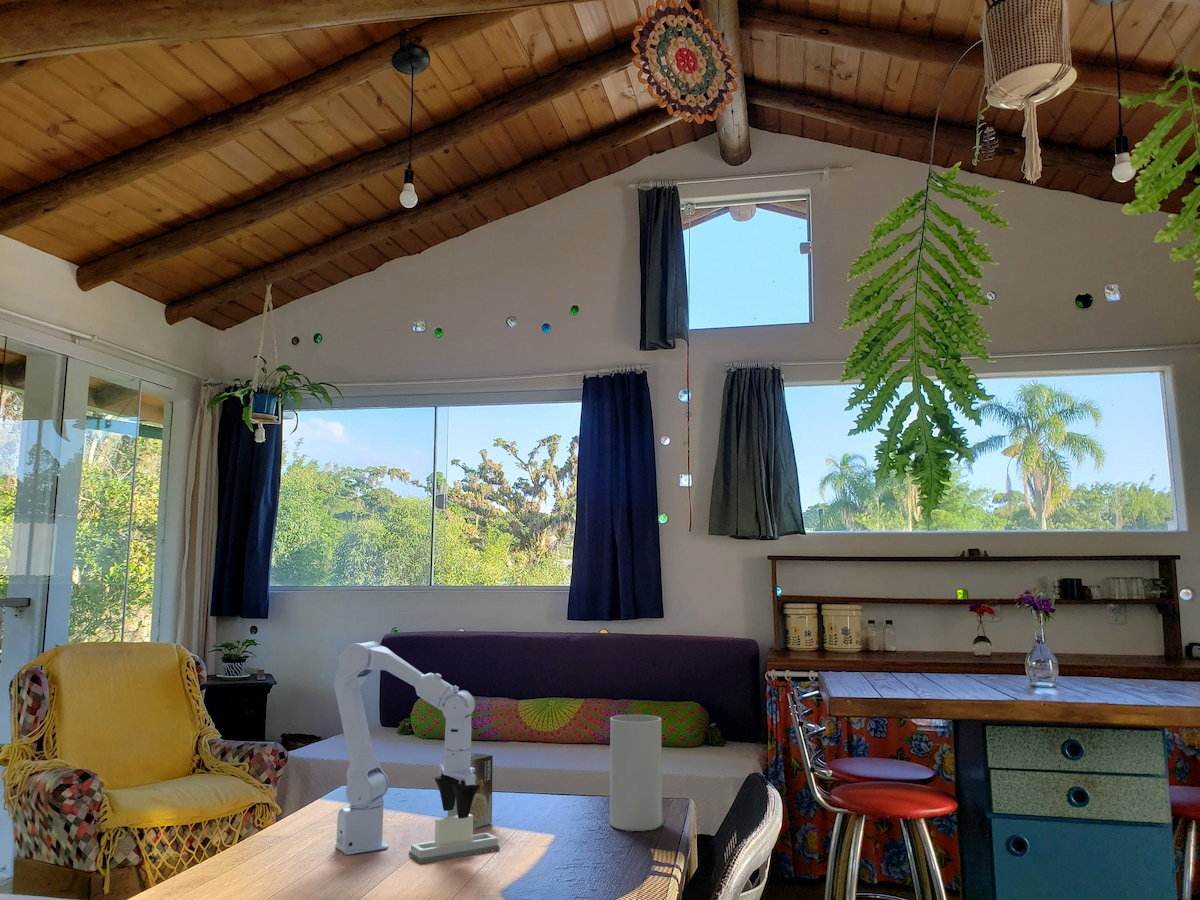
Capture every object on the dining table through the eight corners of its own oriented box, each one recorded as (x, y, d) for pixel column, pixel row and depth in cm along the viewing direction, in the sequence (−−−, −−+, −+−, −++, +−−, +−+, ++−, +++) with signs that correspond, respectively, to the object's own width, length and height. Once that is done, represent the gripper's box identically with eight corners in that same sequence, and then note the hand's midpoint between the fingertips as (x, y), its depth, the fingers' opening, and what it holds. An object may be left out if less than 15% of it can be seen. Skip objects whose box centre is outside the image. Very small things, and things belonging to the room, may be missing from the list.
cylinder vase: (663, 832, 208) (662, 722, 212) (609, 832, 209) (610, 721, 213) (660, 819, 221) (660, 714, 225) (610, 818, 221) (610, 714, 225)
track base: (421, 863, 184) (422, 851, 185) (409, 855, 190) (409, 843, 190) (499, 849, 194) (499, 838, 195) (485, 842, 200) (485, 831, 200)
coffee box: (473, 820, 219) (475, 752, 222) (492, 824, 215) (494, 755, 218) (446, 828, 212) (448, 757, 214) (465, 832, 208) (466, 760, 210)
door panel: (438, 852, 189) (439, 820, 190) (434, 850, 191) (435, 818, 192) (472, 847, 193) (473, 815, 194) (468, 844, 195) (469, 813, 196)
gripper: (489, 752, 192) (487, 818, 190) (460, 742, 204) (458, 804, 202) (458, 755, 188) (456, 823, 186) (431, 745, 200) (429, 808, 198)
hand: (455, 813), depth 193 cm, fingers open, 7 cm apart
